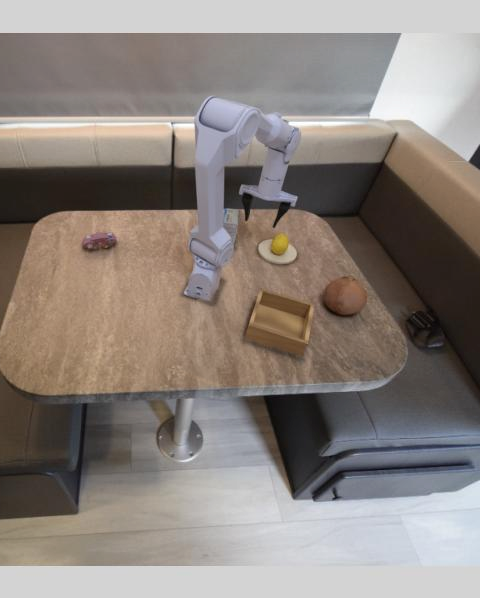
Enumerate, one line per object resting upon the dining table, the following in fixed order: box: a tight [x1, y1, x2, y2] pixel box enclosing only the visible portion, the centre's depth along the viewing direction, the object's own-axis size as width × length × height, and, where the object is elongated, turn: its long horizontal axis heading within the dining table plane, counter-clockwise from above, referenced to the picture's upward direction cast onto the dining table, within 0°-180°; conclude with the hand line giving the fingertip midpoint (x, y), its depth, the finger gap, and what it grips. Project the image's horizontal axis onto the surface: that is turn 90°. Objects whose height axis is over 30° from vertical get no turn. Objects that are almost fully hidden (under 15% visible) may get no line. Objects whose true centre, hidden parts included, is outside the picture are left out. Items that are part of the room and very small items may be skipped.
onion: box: [323, 274, 368, 317], centre depth 84 cm, size 10×9×10 cm
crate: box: [244, 288, 315, 357], centre depth 80 cm, size 13×13×5 cm
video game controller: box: [81, 231, 117, 251], centre depth 100 cm, size 10×5×7 cm, turn 105°
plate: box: [257, 238, 298, 265], centre depth 102 cm, size 11×11×1 cm
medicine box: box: [223, 207, 240, 247], centre depth 103 cm, size 8×4×9 cm, turn 168°
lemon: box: [271, 233, 290, 254], centre depth 100 cm, size 7×5×5 cm, turn 157°
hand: (260, 222), depth 97 cm, fingers open, 7 cm apart
